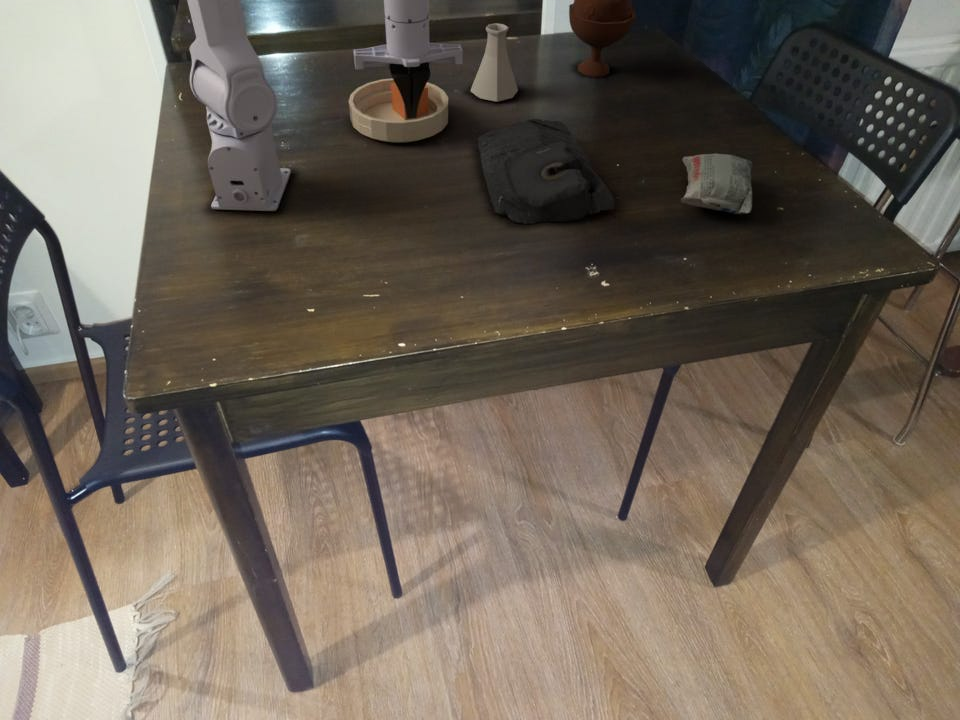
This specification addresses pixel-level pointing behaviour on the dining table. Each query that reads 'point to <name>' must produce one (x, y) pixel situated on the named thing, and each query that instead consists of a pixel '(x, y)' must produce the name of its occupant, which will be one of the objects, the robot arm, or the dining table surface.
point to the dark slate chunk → (540, 174)
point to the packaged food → (719, 183)
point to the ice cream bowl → (600, 28)
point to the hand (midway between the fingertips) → (410, 115)
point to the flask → (495, 68)
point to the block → (399, 104)
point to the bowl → (395, 114)
